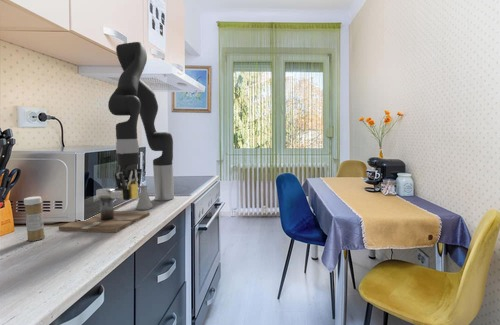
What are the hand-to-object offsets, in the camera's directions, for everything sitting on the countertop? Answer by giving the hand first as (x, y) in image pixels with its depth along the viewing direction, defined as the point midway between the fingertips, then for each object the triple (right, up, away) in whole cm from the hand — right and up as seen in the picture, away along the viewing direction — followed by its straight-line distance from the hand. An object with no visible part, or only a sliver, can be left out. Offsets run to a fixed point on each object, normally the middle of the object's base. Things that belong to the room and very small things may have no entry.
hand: (130, 198), depth 111 cm
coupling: (-6, 0, +1) cm, 6 cm away
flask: (-3, -7, +23) cm, 24 cm away
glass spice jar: (-10, -8, +3) cm, 13 cm away
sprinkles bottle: (-24, -11, -15) cm, 31 cm away
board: (-10, -9, +3) cm, 14 cm away
